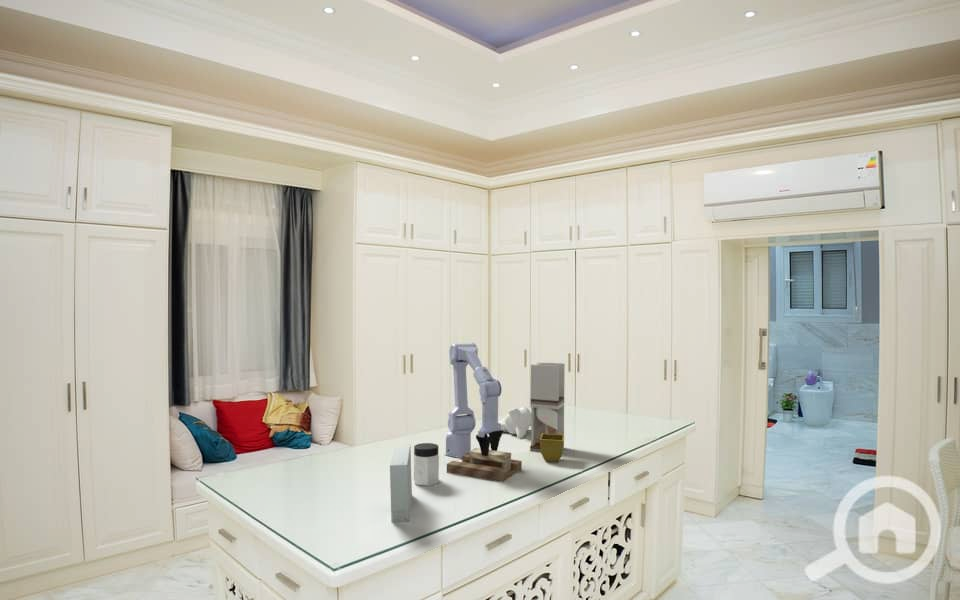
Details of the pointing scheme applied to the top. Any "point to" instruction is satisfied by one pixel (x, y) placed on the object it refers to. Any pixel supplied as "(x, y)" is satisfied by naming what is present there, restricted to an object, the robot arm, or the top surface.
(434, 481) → the jar
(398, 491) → the skincare box
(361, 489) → the top surface
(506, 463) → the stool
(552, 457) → the flower pot
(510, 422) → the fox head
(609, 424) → the top surface
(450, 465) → the board
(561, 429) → the grey dispenser tower
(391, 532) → the top surface
